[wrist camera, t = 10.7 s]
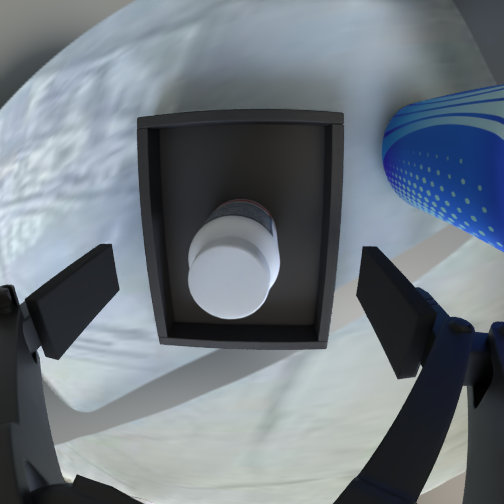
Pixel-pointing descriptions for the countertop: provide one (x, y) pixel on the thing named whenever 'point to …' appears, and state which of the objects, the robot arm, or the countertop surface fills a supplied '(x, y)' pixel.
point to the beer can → (452, 160)
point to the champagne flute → (142, 500)
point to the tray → (251, 188)
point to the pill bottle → (234, 259)
